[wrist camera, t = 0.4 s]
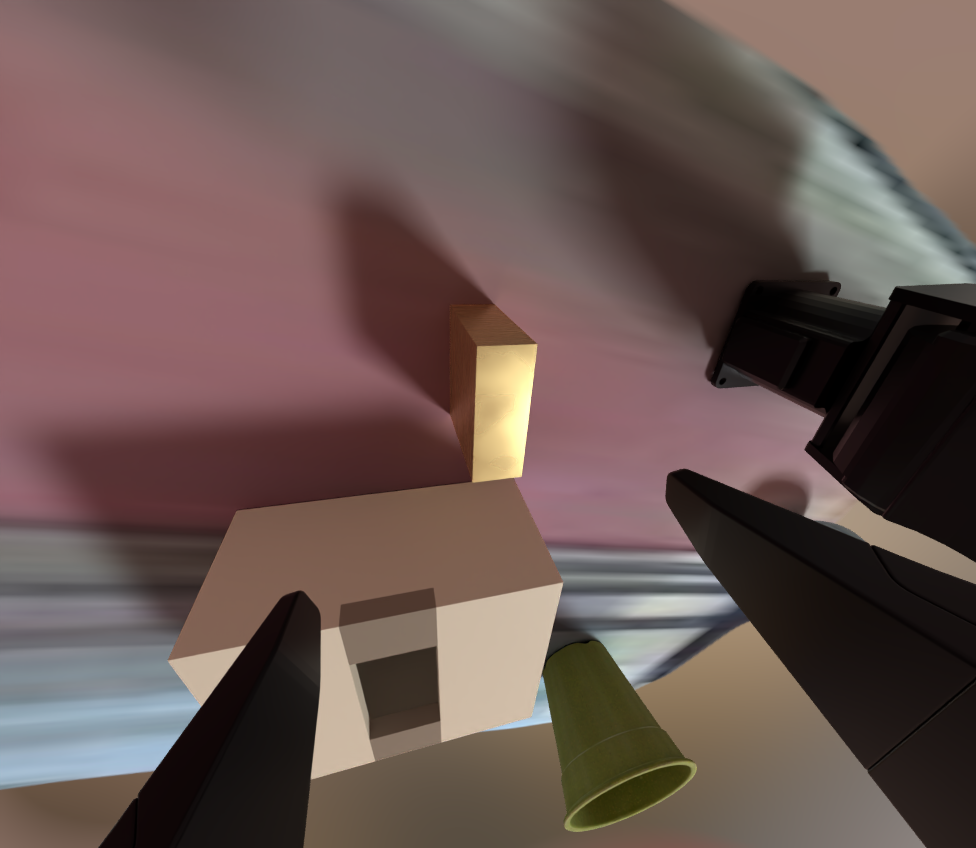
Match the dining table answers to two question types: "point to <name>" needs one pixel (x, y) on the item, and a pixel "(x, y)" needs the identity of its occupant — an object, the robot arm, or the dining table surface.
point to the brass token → (490, 389)
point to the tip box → (390, 612)
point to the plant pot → (607, 740)
